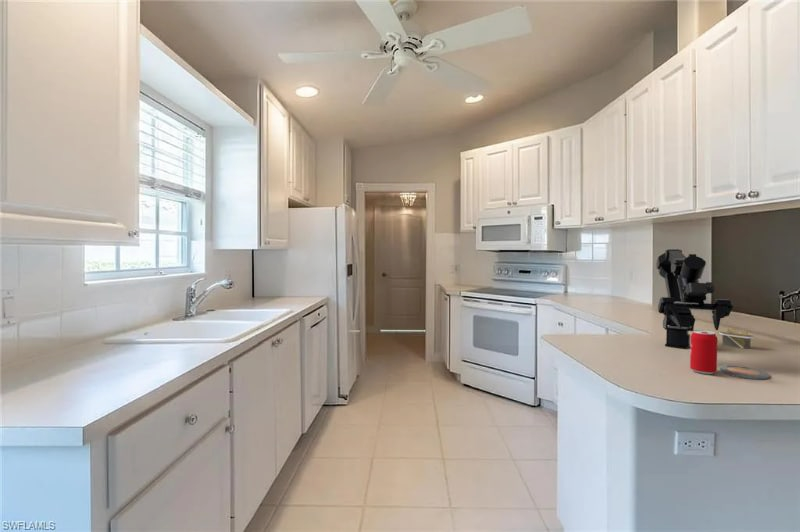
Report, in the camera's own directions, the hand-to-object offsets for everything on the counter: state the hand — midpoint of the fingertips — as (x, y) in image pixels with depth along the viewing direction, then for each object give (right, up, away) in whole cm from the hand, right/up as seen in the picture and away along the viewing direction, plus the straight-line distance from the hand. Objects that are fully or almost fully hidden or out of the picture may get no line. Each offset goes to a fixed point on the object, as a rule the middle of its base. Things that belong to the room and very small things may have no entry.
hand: (698, 328), depth 120 cm
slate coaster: (+8, -12, -6) cm, 16 cm away
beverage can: (-2, -12, -4) cm, 13 cm away
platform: (+31, -11, +23) cm, 40 cm away
